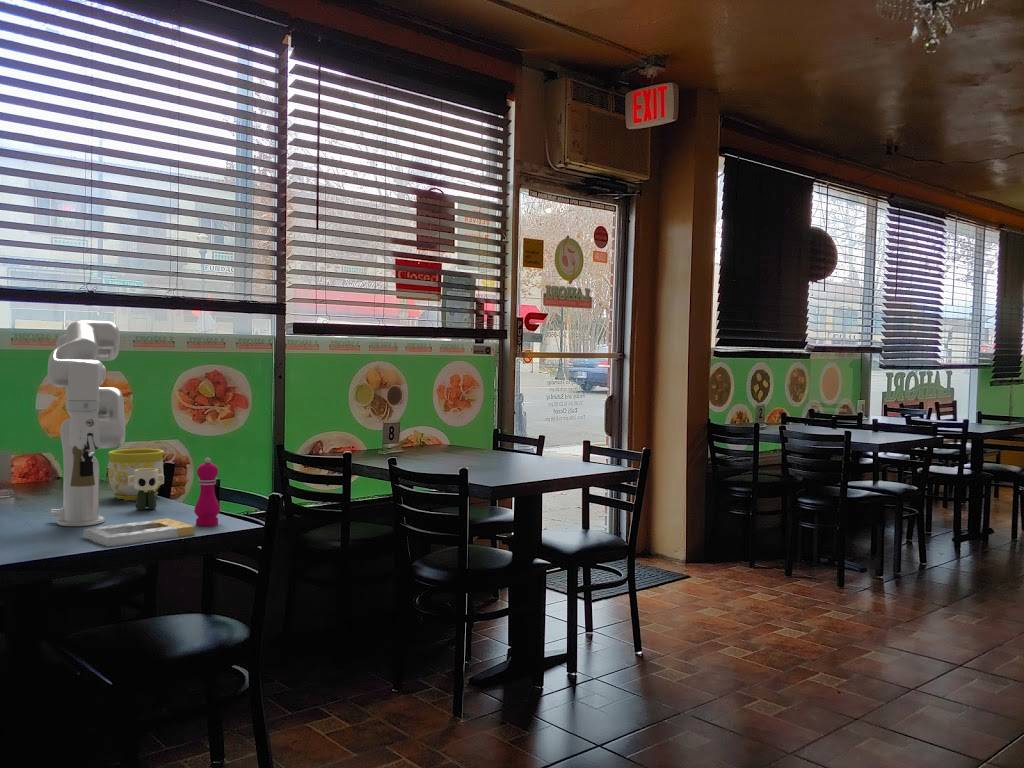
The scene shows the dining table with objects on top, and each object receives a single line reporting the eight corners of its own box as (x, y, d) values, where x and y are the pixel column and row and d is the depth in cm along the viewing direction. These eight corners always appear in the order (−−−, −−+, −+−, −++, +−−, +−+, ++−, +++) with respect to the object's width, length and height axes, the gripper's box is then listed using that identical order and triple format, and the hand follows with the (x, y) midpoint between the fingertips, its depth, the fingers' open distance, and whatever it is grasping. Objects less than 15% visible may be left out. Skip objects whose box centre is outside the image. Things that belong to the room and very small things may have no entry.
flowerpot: (100, 502, 299) (100, 453, 298) (117, 493, 316) (117, 448, 316) (155, 501, 301) (156, 454, 300) (169, 493, 319) (169, 448, 318)
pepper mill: (194, 522, 265) (194, 456, 265) (219, 521, 268) (219, 456, 267) (194, 527, 258) (195, 459, 258) (220, 526, 261) (220, 458, 260)
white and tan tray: (107, 546, 230) (108, 537, 230) (83, 537, 241) (83, 528, 241) (194, 534, 248) (194, 526, 248) (168, 526, 259) (168, 518, 259)
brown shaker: (99, 483, 239) (99, 443, 239) (88, 486, 233) (88, 445, 233) (77, 483, 239) (77, 442, 239) (65, 486, 233) (65, 445, 233)
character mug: (128, 512, 280) (128, 471, 280) (126, 508, 287) (127, 469, 286) (165, 510, 286) (165, 470, 285) (162, 506, 292) (162, 467, 291)
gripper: (109, 408, 232) (109, 477, 233) (86, 404, 244) (86, 470, 245) (79, 409, 227) (79, 480, 228) (57, 405, 239) (57, 472, 239)
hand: (83, 474), depth 236 cm, fingers closed on brown shaker, 4 cm apart
